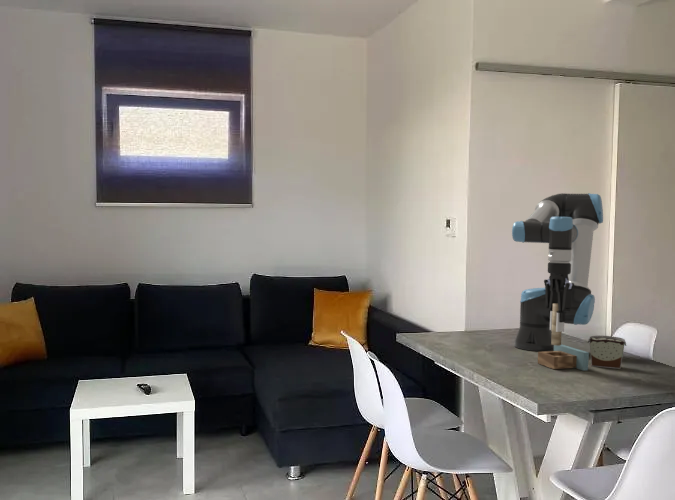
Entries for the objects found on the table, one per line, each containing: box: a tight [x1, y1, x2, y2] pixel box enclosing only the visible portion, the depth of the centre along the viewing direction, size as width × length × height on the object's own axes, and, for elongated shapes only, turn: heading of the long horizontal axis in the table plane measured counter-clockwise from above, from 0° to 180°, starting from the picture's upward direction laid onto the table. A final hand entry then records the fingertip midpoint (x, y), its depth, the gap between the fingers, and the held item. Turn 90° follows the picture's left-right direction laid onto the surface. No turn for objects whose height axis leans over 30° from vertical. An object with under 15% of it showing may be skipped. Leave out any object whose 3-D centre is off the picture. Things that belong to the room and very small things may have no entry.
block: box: [537, 350, 577, 370], centre depth 234 cm, size 9×9×4 cm
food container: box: [587, 335, 627, 370], centre depth 236 cm, size 12×6×10 cm, turn 71°
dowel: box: [551, 303, 563, 346], centre depth 233 cm, size 3×3×14 cm
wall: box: [553, 343, 590, 372], centre depth 236 cm, size 2×16×6 cm, turn 19°
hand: (556, 330), depth 233 cm, fingers closed on dowel, 3 cm apart
